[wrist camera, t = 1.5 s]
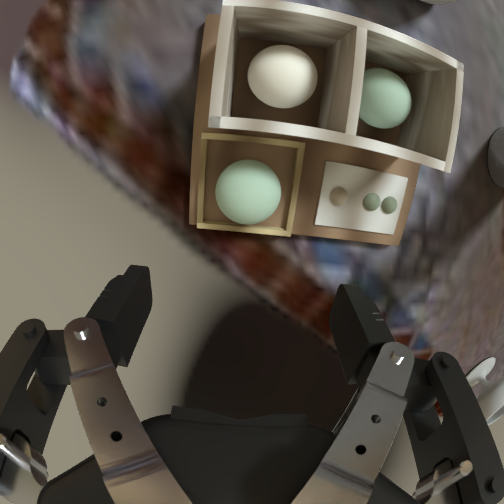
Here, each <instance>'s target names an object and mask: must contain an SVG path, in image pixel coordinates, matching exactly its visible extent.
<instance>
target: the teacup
mask: <svg viewBox="0 0 504 504" xmlns="http://www.w3.org/2000/svg"><path fill="white" fill-rule="evenodd" d="M421 1H423V2H426V3H430V4H438V5H440V4H447V3H451V2H454V1H457V0H421Z"/></svg>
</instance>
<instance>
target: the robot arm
mask: <svg viewBox="0 0 504 504" xmlns="http://www.w3.org/2000/svg"><path fill="white" fill-rule="evenodd" d="M488 168H489V172H490V175H491V178H492V180H493V181H494V183H495V184H497V185H498V186H500V187H502V188H504V128H500V129H498V130H497V131H496V132H495V133H494V134H493V136H492V138H491V140H490V143H489V148H488ZM151 307H152V290H151V281H150V271H149V268H148V267H147V266H138V265H130V266H129V268H128V269H127V271H126V272H125V274H124V275H118V276H116V277H115V278H113V279H112V280H111V281H109V283H108V284H107V286H106V287H105V289H104V290H103V291H102V293H101V294H100V297H98V298H97V300H96V302H95V303H94V304H93V306H92V307H91V309H90V311H89V312H88V314H87V315H86V316H85V317H81V318H77V319H74V320H72V321H71V322H70V323H68V324H67V325H66V327H65V329H64V330H47V329H46V327H45V324H44V323H43V322H42V321H41V320H39V319H29V320H26V321H24V322H22V323H21V324H20V325H19V326H18V327H17V328H16V330H15V331H14V333H13V334H12V336H11V337H10V339H9V340H8V342H7V343H6V345H5V346H4V348H3V350H2V351H1V353H0V497H1V498H3V499H6V500H8V501H10V502H12V503H14V504H497V503H498V502H499V501H501V500H502V498H503V497H504V469H503V465H502V463H501V459H500V456H499V453H498V450H497V448H496V445H495V442H494V440H493V437H492V434H491V432H490V429H489V427H488V424H487V422H486V419H485V417H484V415H483V412H482V410H481V408H480V406H479V403H478V401H477V399H476V397H475V395H474V393H473V391H472V389H471V386H470V384H469V382H468V380H467V378H466V376H465V374H464V373H463V371H462V369H461V367H460V365H459V363H458V361H457V360H456V359H455V358H454V357H453V356H452V355H450V354H448V353H446V352H437V353H435V354H434V355H433V357H432V358H431V360H430V361H428V360H423V359H418V358H414V355H413V353H412V352H411V350H410V349H409V348H408V347H406V346H405V345H403V344H401V343H398V342H395V340H394V338H393V336H392V334H391V332H390V331H389V329H388V327H387V325H386V323H385V321H383V317H382V315H381V314H380V312H379V310H378V308H377V306H376V304H375V303H373V302H372V301H371V300H370V299H369V298H368V297H364V295H363V294H362V292H361V290H360V288H359V286H358V285H348V284H341V285H340V286H339V287H338V290H337V293H336V296H335V299H334V303H333V306H332V309H331V312H330V316H329V325H330V329H331V332H332V335H333V338H334V341H335V345H336V348H337V351H338V355H339V358H340V361H341V365H342V368H343V372H344V375H345V379H346V382H347V384H358V390H357V391H356V393H355V395H354V397H353V398H352V400H351V402H350V404H349V406H348V407H347V409H346V411H345V412H344V414H343V416H342V417H341V419H340V421H339V422H338V424H337V425H336V427H335V429H334V430H333V431H332V432H330V431H329V430H327V429H325V428H323V427H320V426H317V425H314V424H311V423H307V418H306V414H273V415H268V416H263V417H258V418H252V419H246V420H236V419H232V418H229V417H226V416H223V415H219V414H216V413H213V412H210V411H207V410H201V409H193V408H186V407H179V406H172V411H171V414H166V415H160V416H156V417H152V418H149V419H147V420H144V421H142V422H140V420H139V418H138V416H137V414H136V412H135V410H134V408H133V406H132V404H131V402H130V400H129V398H128V396H127V394H126V391H125V389H124V387H123V385H122V383H121V380H120V378H119V376H118V373H117V371H116V368H117V366H118V365H119V366H124V367H128V364H129V362H130V359H131V356H132V354H133V351H134V349H135V347H136V344H137V342H138V339H139V337H140V334H141V332H142V330H143V327H144V325H145V323H146V320H147V318H148V316H149V313H150V311H151ZM33 372H35V375H34V377H33V379H32V381H31V383H30V385H29V388H28V389H27V384H28V382H29V380H30V378H31V376H32V374H33ZM67 385H71V387H72V391H73V394H74V398H75V401H76V405H77V408H78V411H79V414H80V417H81V420H82V423H83V426H84V429H85V432H86V435H87V437H88V440H89V443H90V445H91V448H92V450H93V453H94V454H93V455H91V456H90V457H88V458H86V459H85V460H83V461H82V462H80V463H79V464H77V465H76V466H74V467H72V468H71V469H69V470H67V471H66V472H64V473H62V474H61V475H59V476H57V477H56V478H54V479H52V480H50V481H49V482H47V478H48V472H47V465H46V461H45V459H44V457H43V456H42V454H43V450H44V447H45V444H46V441H47V438H48V434H49V432H50V429H51V426H52V423H53V420H54V417H55V415H56V412H57V409H58V407H59V404H60V401H61V399H62V396H63V394H64V392H65V389H66V387H67ZM26 389H27V390H26ZM437 400H438V403H439V405H440V408H441V410H442V413H443V422H442V424H441V423H440V420H439V417H438V415H437V412H436V409H435V406H434V404H435V403H436V401H437ZM402 416H403V417H404V420H405V423H406V427H407V431H408V434H409V438H410V441H411V445H412V449H413V453H414V457H415V461H416V466H417V469H418V474H419V479H420V480H419V481H418V483H417V485H416V491H415V492H414V493H413V496H410V495H409V494H408V493H406V492H405V491H404V490H402V489H401V488H400V487H398V486H397V485H396V484H394V483H393V482H392V481H391V480H389V479H388V478H387V477H385V476H384V475H383V474H382V473H380V472H379V471H380V469H381V467H382V465H383V463H384V460H385V458H386V456H387V454H388V451H389V449H390V447H391V444H392V442H393V440H394V437H395V434H396V432H397V429H398V427H399V424H400V421H401V419H402Z"/></svg>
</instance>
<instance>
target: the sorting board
mask: <svg viewBox="0 0 504 504" xmlns="http://www.w3.org/2000/svg"><path fill="white" fill-rule="evenodd" d="M275 45H288V46H292V47H295V48H298V49H300V50H301V51H303V52H304V53H306V54H307V55H308V56H309V57H310V58H311V60H312V61H313V63H314V65H315V67H316V70H317V76H318V78H317V85H316V88H315V91H314V92H313V94H312V95H311V97H310V98H309V99H308V100H306V101H305V102H304V103H302V104H300V105H298V106H295V107H292V108H276V107H272V106H269V105H267V104H265V103H264V102H262V101H261V100H259V99H258V98H257V97H256V96H255V95H254V93H253V92H252V90H251V88H250V86H249V83H248V68H249V65H250V63H251V61H252V59H253V58H254V57H255V56H256V55H257V54H258V53H259V52H260V51H262V50H264V49H265V48H268V47H271V46H275ZM372 68H382V69H386V70H389V71H391V72H393V73H395V74H396V75H398V76H399V77H400V78H401V79H402V80H403V81H404V82H405V84H406V85H407V87H408V89H409V91H410V94H411V100H412V105H411V110H410V113H409V115H408V117H407V118H406V119H405V120H404V121H403V122H402V123H401V124H399V125H398V126H395V127H392V128H386V129H385V128H377V127H374V126H371V125H369V124H367V123H366V122H364V121H363V120H362V119H361V118H360V117H359V111H360V103H361V95H362V87H363V78H364V71H365V70H367V69H372ZM463 71H464V64H462V63H460V62H459V61H457V60H455V59H454V58H452V57H450V56H448V55H446V54H444V53H443V52H441V51H439V50H437V49H435V48H433V47H431V46H429V45H427V44H425V43H423V42H420V41H418V40H416V39H414V38H412V37H409V36H407V35H405V34H402V33H400V32H397V31H395V30H392V29H390V28H387V27H384V26H382V25H379V24H376V23H373V22H370V21H367V20H364V19H361V18H357V17H354V16H351V15H347V14H343V13H340V12H336V11H332V10H328V9H323V8H319V7H314V6H309V5H303V4H298V3H292V2H285V1H278V0H223V5H222V11H221V15H206V21H205V27H204V34H203V41H202V49H201V56H200V65H199V73H198V82H197V92H196V103H195V114H194V127H193V141H192V158H191V178H190V208H189V224H190V225H197V228H203V229H214V230H226V231H237V232H247V233H258V234H268V235H278V236H288V237H291V234H297V235H307V236H316V237H325V238H334V239H343V240H352V241H360V242H369V243H377V244H385V245H393V246H399V244H400V241H401V237H402V234H403V231H404V228H405V224H406V221H407V217H408V214H409V210H410V206H411V203H412V199H413V195H414V191H415V187H416V182H417V178H418V174H419V169H420V164H423V165H426V166H429V167H433V168H436V169H439V170H442V171H445V172H448V173H450V171H451V167H452V162H453V157H454V152H455V146H456V140H457V134H458V127H459V120H460V112H461V102H462V90H463ZM240 160H256V161H260V162H262V163H264V164H266V165H267V166H269V167H270V168H271V169H272V170H273V171H274V173H275V174H276V175H277V177H278V179H279V182H280V186H281V198H280V202H279V204H278V207H277V208H276V210H275V211H274V213H273V214H272V215H271V216H270V217H269V218H267V219H266V220H264V221H262V222H259V223H256V224H250V225H248V224H240V223H237V222H234V221H232V220H231V219H229V218H228V217H227V216H226V215H224V214H223V212H222V211H221V210H220V208H219V206H218V204H217V200H216V195H215V189H216V184H217V180H218V178H219V176H220V175H221V173H222V172H223V171H224V170H225V169H226V168H227V167H228V166H229V165H231V164H233V163H234V162H237V161H240Z"/></svg>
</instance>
